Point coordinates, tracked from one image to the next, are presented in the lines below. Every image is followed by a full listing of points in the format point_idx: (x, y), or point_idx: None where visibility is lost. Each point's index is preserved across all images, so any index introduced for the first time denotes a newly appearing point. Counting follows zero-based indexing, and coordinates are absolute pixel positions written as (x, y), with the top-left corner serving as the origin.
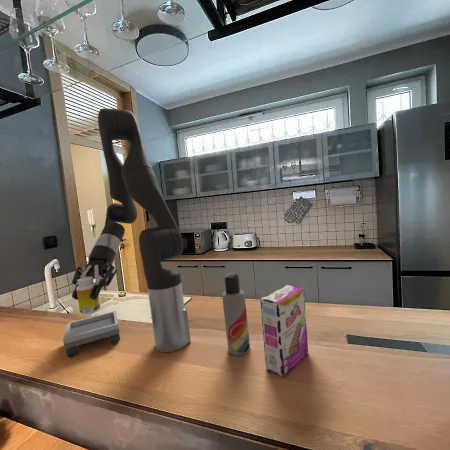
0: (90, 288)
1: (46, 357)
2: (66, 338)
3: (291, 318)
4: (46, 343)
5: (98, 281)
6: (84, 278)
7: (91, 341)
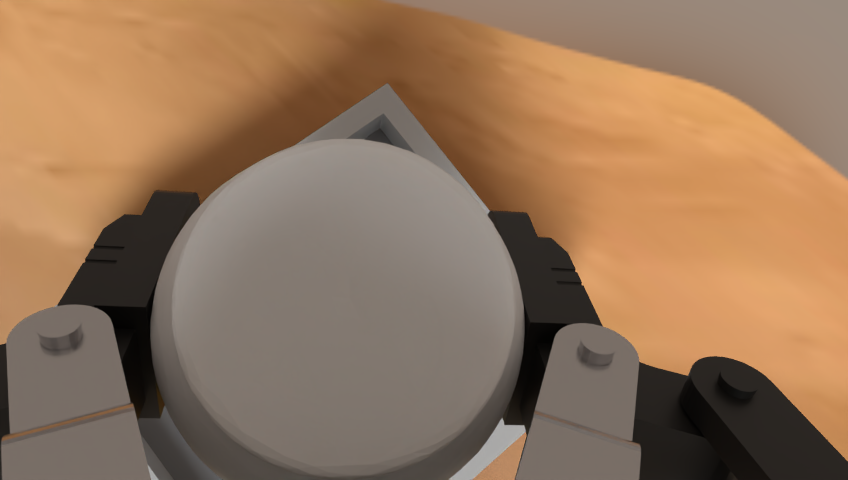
0: (182, 229)
1: (542, 166)
2: (369, 97)
3: None
4: (713, 325)
5: (27, 359)
6: (393, 315)
7: None
